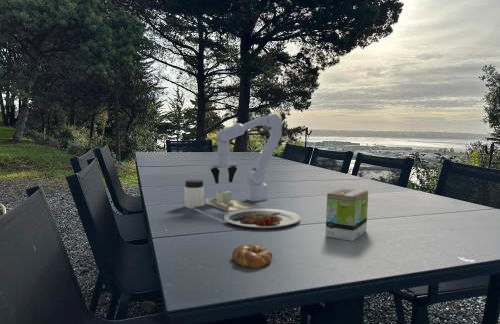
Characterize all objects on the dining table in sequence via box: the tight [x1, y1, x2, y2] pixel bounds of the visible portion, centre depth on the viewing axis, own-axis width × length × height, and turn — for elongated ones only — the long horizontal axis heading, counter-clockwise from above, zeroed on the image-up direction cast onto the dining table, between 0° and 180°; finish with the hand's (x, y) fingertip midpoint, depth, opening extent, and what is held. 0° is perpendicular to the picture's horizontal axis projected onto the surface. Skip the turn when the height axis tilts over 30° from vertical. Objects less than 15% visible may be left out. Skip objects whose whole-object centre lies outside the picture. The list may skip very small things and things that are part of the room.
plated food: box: [223, 208, 301, 229], centre depth 145 cm, size 30×30×3 cm
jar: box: [183, 179, 205, 209], centre depth 171 cm, size 9×8×12 cm
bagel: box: [231, 243, 273, 269], centre depth 100 cm, size 12×11×4 cm
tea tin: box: [216, 189, 232, 203], centre depth 172 cm, size 4×7×6 cm, turn 32°
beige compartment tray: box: [205, 197, 257, 212], centre depth 170 cm, size 16×20×3 cm
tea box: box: [325, 187, 369, 242], centre depth 126 cm, size 15×10×15 cm, turn 148°
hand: (223, 182), depth 179 cm, fingers open, 7 cm apart
